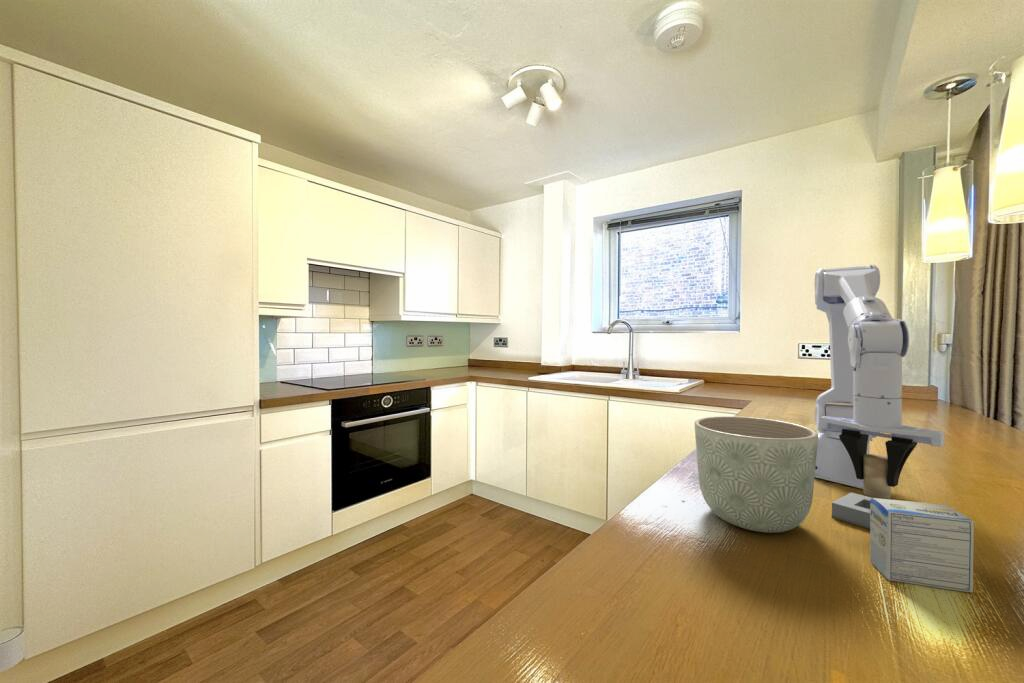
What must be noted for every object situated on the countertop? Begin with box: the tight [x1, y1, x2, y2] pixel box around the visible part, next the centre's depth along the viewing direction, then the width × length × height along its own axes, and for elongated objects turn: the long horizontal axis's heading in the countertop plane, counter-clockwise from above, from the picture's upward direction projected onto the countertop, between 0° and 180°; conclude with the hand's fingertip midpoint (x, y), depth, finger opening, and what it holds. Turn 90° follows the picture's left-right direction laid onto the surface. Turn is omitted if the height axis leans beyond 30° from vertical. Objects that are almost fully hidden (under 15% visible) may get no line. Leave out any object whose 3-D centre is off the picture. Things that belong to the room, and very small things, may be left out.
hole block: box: [831, 492, 873, 530], centre depth 64 cm, size 9×8×2 cm
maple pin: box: [862, 453, 892, 499], centre depth 63 cm, size 3×3×6 cm
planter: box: [694, 415, 819, 534], centre depth 64 cm, size 17×17×15 cm
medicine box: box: [869, 497, 975, 593], centre depth 49 cm, size 8×4×9 cm, turn 71°
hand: (876, 481), depth 63 cm, fingers closed on maple pin, 3 cm apart
